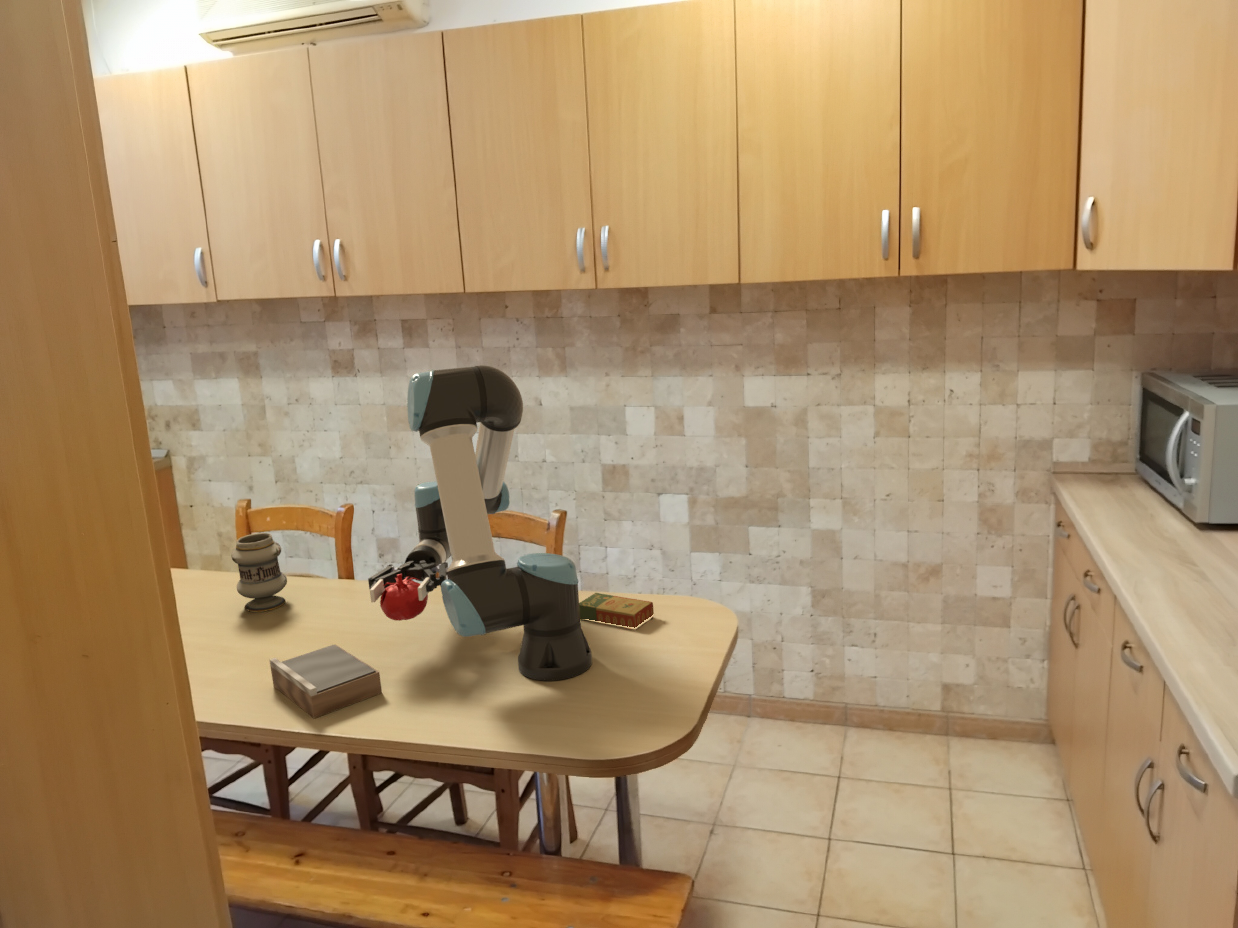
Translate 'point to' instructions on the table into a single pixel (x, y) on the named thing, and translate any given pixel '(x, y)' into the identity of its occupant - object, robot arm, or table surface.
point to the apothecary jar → (259, 571)
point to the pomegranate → (402, 599)
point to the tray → (325, 680)
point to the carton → (615, 610)
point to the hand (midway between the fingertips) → (396, 595)
